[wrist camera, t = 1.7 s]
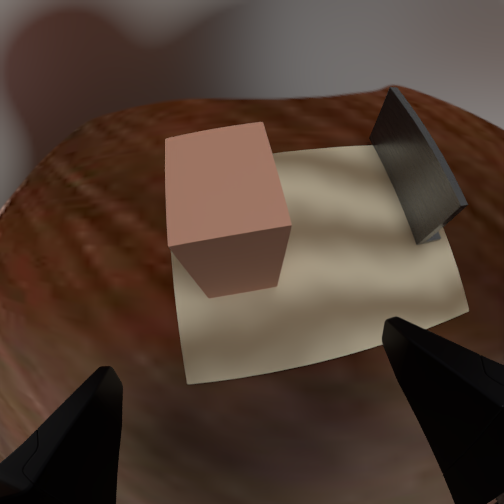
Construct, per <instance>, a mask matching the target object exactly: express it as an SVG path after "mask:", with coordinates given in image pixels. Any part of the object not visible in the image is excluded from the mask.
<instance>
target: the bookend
mask: <svg viewBox="0 0 504 504" xmlns="http://www.w3.org/2000/svg"><path fill="white" fill-rule="evenodd" d="M369 139H370V141H371V142H372V144H373V146H374V148H375V150H376V152H377V154H378V156H379V158H380V160H381V162H382V164H383V166H384V168H385V170H386V172H387V174H388V177H389V179H390V181H391V183H392V185H393V187H394V190H395V192H396V194H397V197H398V199H399V201H400V204H401V206H402V208H403V211H404V213H405V216H406V218H407V221H408V223H409V226H410V229H411V231H412V234H413V237H414V240H415V242H416V245H420V244H424V243H429V242H433V241H438V240H440V239H441V236H440V234H439V230H440V229H441V228H443V227H444V226H445V225H446V224H447V223H448V222H449V221H451V220H452V219H453V218H454V217H455V216H456V215H457V214H458V213H460V212H461V211H462V210H463V209H464V208H465V207H466V206H467V205H468V204H467V202H466V200H465V198H464V195H463V193H462V191H461V189H460V187H459V185H458V183H457V181H456V179H455V177H454V175H453V173H452V172H451V170H450V168H449V166H448V164H447V162H446V161H445V159H444V157H443V155H442V154H441V152H440V150H439V148H438V147H437V145H436V143H435V142H434V140H433V138H432V137H431V135H430V134H429V132H428V131H427V129H426V127H425V126H424V124H423V123H422V121H421V120H420V118H419V117H418V116H417V114H416V113H415V111H414V110H413V108H412V107H411V106H410V104H409V103H408V101H407V100H406V99H405V97H404V96H403V95H402V93H401V92H400V91H399V90H398V88H394V87H390V88H389V91H388V93H387V96H386V98H385V101H384V103H383V106H382V108H381V111H380V113H379V116H378V118H377V121H376V123H375V126H374V128H373V130H372V133H371V135H370V137H369Z"/></svg>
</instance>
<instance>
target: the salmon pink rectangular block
mask: <svg viewBox="0 0 504 504" xmlns="http://www.w3.org/2000/svg"><path fill="white" fill-rule="evenodd" d="M165 187H166V217H167V237H168V247H169V248H170V250H171V251H172V252H173V254H174V255H175V256H176V258H177V259H178V260H179V262H180V263H181V264H182V265H183V267H184V268H185V269H186V271H187V272H188V273H189V274H190V276H191V277H192V278H193V279H194V281H195V282H196V283H197V284H198V286H199V287H200V288H201V289H202V291H203V292H204V293H205V294H206V296H207V297H208V298H214V297H221V296H227V295H233V294H238V293H244V292H250V291H256V290H261V289H267V288H272V287H277V285H278V281H279V277H280V273H281V269H282V265H283V261H284V257H285V252H286V248H287V244H288V240H289V236H290V231H291V227H292V223H291V219H290V216H289V212H288V208H287V204H286V201H285V197H284V193H283V190H282V186H281V183H280V179H279V175H278V172H277V168H276V165H275V161H274V158H273V155H272V151H271V148H270V144H269V141H268V138H267V134H266V131H265V128H264V125H263V122H257V123H249V124H242V125H235V126H229V127H222V128H217V129H211V130H205V131H200V132H195V133H190V134H185V135H180V136H176V137H171V138H167V139H165Z"/></svg>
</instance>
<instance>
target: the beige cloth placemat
mask: <svg viewBox="0 0 504 504" xmlns="http://www.w3.org/2000/svg"><path fill="white" fill-rule="evenodd" d="M272 155H273V158H274V161H275V165H276V168H277V172H278V175H279V179H280V183H281V186H282V190H283V193H284V197H285V201H286V204H287V208H288V212H289V216H290V219H291V223H292V227H291V231H290V236H289V240H288V244H287V248H286V252H285V257H284V261H283V265H282V269H281V273H280V277H279V281H278V285H277V287H272V288H267V289H261V290H256V291H250V292H244V293H238V294H233V295H227V296H221V297H214V298H208V297H207V296H206V294H205V293H204V292H203V291H202V289H201V288H200V287H199V286H198V284H197V283H196V282H195V281H194V279H193V278H192V277H191V276H190V274H189V273H188V272H187V271H186V269H185V268H184V267H183V265H182V264H181V263H180V262H179V260H178V259H177V258H176V256H175V255H174V254H173V252H172V251H171V258H172V270H173V281H174V291H175V300H176V309H177V318H178V326H179V333H180V341H181V348H182V354H183V361H184V367H185V373H186V379H187V384H197V383H206V382H214V381H222V380H229V379H236V378H243V377H249V376H255V375H261V374H266V373H271V372H277V371H282V370H287V369H291V368H296V367H301V366H305V365H310V364H314V363H318V362H322V361H326V360H330V359H334V358H338V357H341V356H345V355H349V354H352V353H356V352H359V351H363V350H366V349H369V348H373V347H376V346H379V345H382V334H383V328H384V322H385V320H386V319H388V318H391V317H395V316H397V317H400V318H402V319H404V320H406V321H408V322H411V323H413V324H415V325H417V326H419V327H421V328H424V329H427V328H430V327H433V326H435V325H438V324H440V323H443V322H445V321H447V320H450V319H452V318H454V317H457V316H459V315H461V314H464V313H466V312H468V311H469V308H468V304H467V300H466V296H465V293H464V289H463V285H462V282H461V279H460V275H459V272H458V269H457V266H456V263H455V260H454V257H453V254H452V251H451V248H450V245H449V242H448V240H447V237H446V234H445V232H444V229H443V228H441V229H440V230H439V234H440V236H441V239H440V240H438V241H433V242H429V243H424V244H420V245H416V242H415V240H414V237H413V234H412V231H411V229H410V226H409V223H408V221H407V218H406V216H405V213H404V211H403V208H402V206H401V204H400V201H399V199H398V197H397V194H396V192H395V190H394V187H393V185H392V183H391V181H390V179H389V177H388V174H387V172H386V170H385V168H384V166H383V164H382V162H381V160H380V158H379V156H378V154H377V152H376V150H375V148H374V146H373V145H368V146H349V147H334V148H322V149H311V150H301V151H292V152H283V153H275V154H272Z"/></svg>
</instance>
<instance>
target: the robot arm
mask: <svg viewBox="0 0 504 504" xmlns="http://www.w3.org/2000/svg"><path fill="white" fill-rule="evenodd" d="M382 344H383V346H384V349H385V351H386V354H387V356H388V358H389V361H390V363H391V366H392V368H393V371H394V374H395V376H396V378H397V381H398V383H399V385H400V387H401V388H402V390H403V392H404V394H405V396H406V398H407V400H408V402H409V404H410V406H411V408H412V410H413V412H414V414H415V416H416V418H417V420H418V422H419V424H420V426H421V428H422V430H423V432H424V434H425V436H426V438H427V440H428V442H429V445H430V447H431V449H432V451H433V453H434V455H435V458H436V460H437V462H438V464H439V466H440V469H441V471H442V473H443V476H444V478H445V481H446V483H447V485H448V488H449V490H450V493H451V495H452V498H453V500H454V503H455V504H487V503H488V502H490V501H492V500H493V499H495V498H496V500H497V502H496V503H494V504H504V365H502V364H499V363H497V362H495V361H493V360H490V359H488V358H486V357H484V356H482V355H481V356H480V355H479V354H477V353H475V352H473V351H471V350H469V349H467V348H464V347H462V346H460V345H458V344H456V343H454V342H452V341H449V340H447V339H445V338H443V337H441V336H439V335H436V334H434V333H432V332H430V331H428V330H426V329H424V328H421V327H419V326H417V325H415V324H413V323H411V322H408V321H406V320H404V319H402V318H400V317H397V316H395V317H391V318H388V319H386V320H385V322H384V328H383V334H382ZM122 400H123V385H122V382H121V381H120V379H119V377H118V376H117V374H116V373H115V371H114V369H113V368H112V367H110V366H102V367H99V368H98V369H97V370H96V371H95V372H94V373H93V374H92V375H91V376H90V377H89V378H88V379H87V380H86V381H85V382H84V383H83V384H82V385H81V386H80V387H79V388H78V389H77V390H76V391H75V392H74V393H73V394H72V395H71V396H70V397H69V398H68V399H67V400H66V401H65V402H64V403H63V404H62V405H61V406H60V407H59V408H58V409H57V410H56V411H55V412H54V413H53V414H52V415H51V416H50V417H49V418H48V419H47V420H46V421H45V422H44V423H43V424H42V425H41V426H40V427H39V428H38V430H36V431H35V432H34V433H33V434H32V435H31V436H30V437H29V438H28V439H27V440H26V441H25V442H24V443H23V444H22V445H21V446H19V447H18V448H17V449H16V450H15V451H14V452H13V453H11V454H10V455H9V456H8V457H7V458H6V459H4V460H3V461H2V462H1V463H0V504H116V490H117V473H118V460H119V449H120V439H121V430H122Z"/></svg>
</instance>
